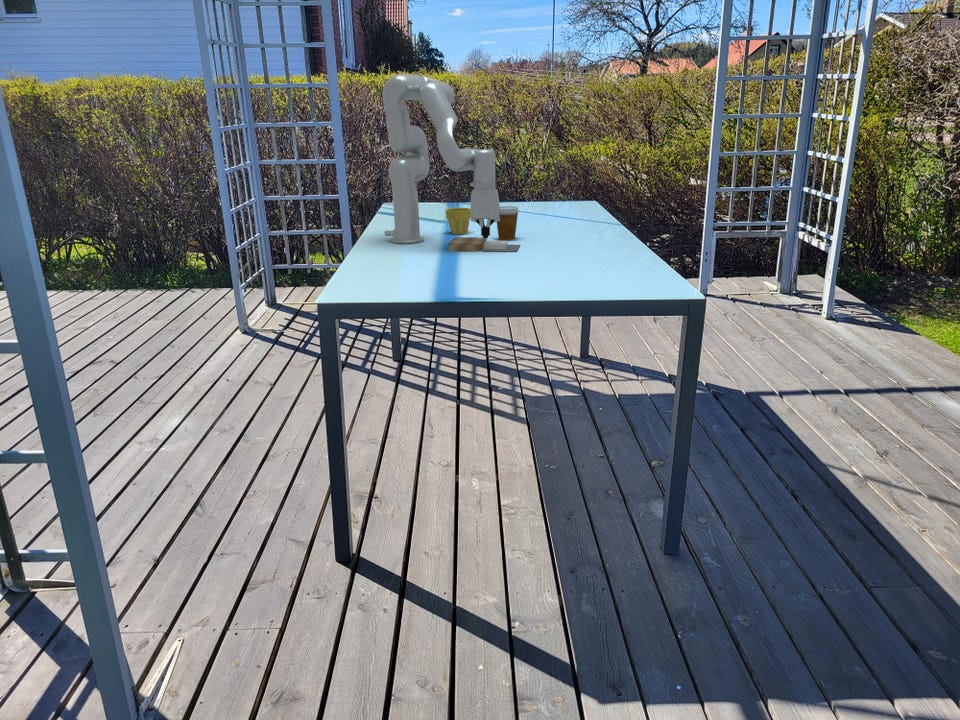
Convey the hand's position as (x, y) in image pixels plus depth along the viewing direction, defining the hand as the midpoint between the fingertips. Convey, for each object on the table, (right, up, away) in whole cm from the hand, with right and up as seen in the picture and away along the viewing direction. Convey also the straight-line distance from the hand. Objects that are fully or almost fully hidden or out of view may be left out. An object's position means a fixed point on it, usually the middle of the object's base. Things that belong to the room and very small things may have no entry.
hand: (485, 237), depth 256 cm
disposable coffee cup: (+8, +3, +19) cm, 21 cm away
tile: (+4, -4, +1) cm, 5 cm away
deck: (-6, -3, +2) cm, 8 cm away
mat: (+6, -4, 0) cm, 7 cm away
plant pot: (-11, +8, +34) cm, 37 cm away
